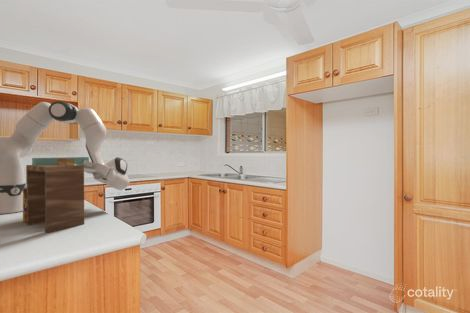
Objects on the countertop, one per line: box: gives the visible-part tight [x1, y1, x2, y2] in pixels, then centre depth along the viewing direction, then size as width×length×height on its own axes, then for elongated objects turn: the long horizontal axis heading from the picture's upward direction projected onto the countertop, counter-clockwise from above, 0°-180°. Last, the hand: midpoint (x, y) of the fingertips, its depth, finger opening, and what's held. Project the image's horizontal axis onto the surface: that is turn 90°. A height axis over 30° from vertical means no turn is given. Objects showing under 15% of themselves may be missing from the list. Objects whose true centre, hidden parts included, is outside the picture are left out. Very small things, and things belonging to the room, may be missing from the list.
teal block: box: [31, 156, 90, 166], centre depth 115 cm, size 3×22×3 cm, turn 148°
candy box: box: [22, 188, 27, 223], centre depth 115 cm, size 9×4×15 cm, turn 123°
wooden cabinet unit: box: [25, 157, 85, 233], centre depth 109 cm, size 20×14×29 cm
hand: (78, 160), depth 121 cm, fingers open, 8 cm apart
